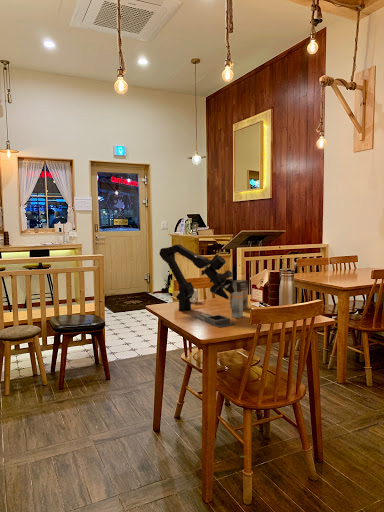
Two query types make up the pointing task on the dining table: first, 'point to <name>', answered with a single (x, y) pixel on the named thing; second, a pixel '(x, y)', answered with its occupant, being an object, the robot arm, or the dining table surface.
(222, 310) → the dining table surface
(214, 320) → the dark flat piece
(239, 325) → the dining table surface
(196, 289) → the penguin figurine
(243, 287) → the coffee box
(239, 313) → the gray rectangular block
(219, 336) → the dining table surface
